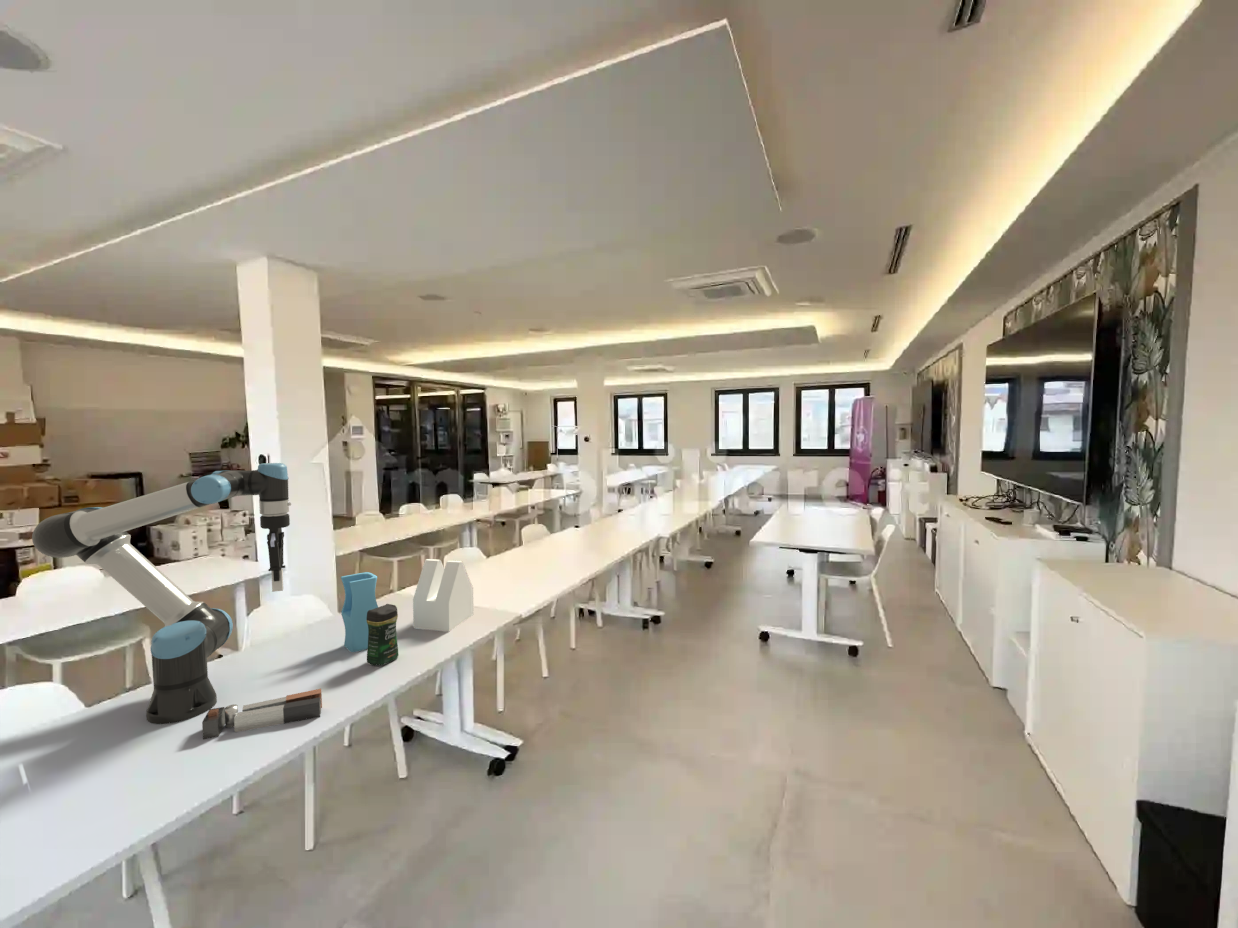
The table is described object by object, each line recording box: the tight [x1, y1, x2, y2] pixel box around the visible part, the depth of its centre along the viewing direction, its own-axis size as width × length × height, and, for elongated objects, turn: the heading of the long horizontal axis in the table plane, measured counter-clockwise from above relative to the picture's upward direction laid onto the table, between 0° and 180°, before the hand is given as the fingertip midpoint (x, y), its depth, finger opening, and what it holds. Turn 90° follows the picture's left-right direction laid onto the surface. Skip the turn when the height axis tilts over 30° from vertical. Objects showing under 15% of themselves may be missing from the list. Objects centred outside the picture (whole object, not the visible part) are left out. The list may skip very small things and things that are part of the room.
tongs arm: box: [224, 688, 323, 729], centre depth 147 cm, size 22×3×5 cm, turn 120°
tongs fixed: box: [201, 697, 322, 740], centre depth 144 cm, size 26×7×6 cm, turn 114°
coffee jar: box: [366, 603, 399, 666], centre depth 182 cm, size 10×8×19 cm
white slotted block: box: [412, 558, 474, 633], centre depth 218 cm, size 19×15×25 cm
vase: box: [340, 571, 379, 653], centre depth 194 cm, size 10×10×25 cm
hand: (277, 590), depth 166 cm, fingers closed
